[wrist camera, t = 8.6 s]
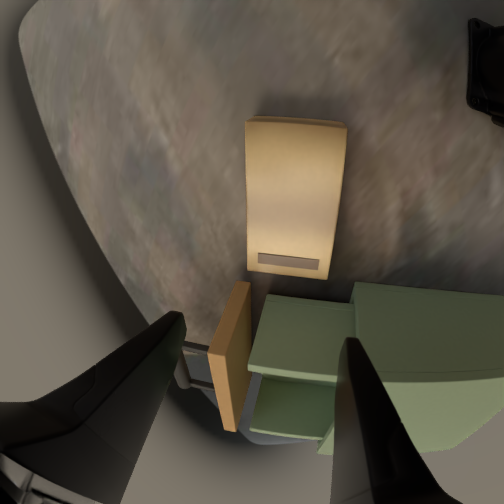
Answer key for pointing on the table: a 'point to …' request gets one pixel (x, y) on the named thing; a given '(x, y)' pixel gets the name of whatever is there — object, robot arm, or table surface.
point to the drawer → (276, 362)
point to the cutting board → (293, 193)
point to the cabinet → (432, 359)
